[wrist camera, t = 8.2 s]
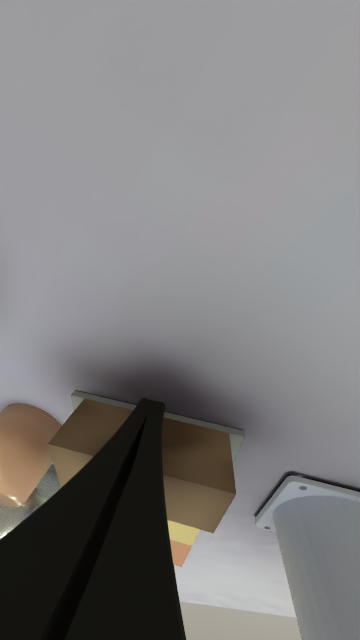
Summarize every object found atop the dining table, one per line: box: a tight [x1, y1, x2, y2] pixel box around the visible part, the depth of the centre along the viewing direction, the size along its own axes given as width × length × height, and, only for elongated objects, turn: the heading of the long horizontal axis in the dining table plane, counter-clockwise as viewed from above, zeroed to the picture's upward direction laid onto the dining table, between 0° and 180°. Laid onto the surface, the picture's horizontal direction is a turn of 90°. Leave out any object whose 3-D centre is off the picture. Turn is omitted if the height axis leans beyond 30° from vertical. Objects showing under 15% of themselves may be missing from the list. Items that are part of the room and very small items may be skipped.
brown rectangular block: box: [48, 398, 236, 533], centre depth 11 cm, size 10×5×3 cm, turn 81°
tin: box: [0, 464, 61, 539], centre depth 16 cm, size 5×5×5 cm
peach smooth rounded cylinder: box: [0, 403, 62, 507], centre depth 13 cm, size 6×6×4 cm
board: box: [71, 391, 245, 567], centre depth 17 cm, size 12×28×1 cm, turn 171°
